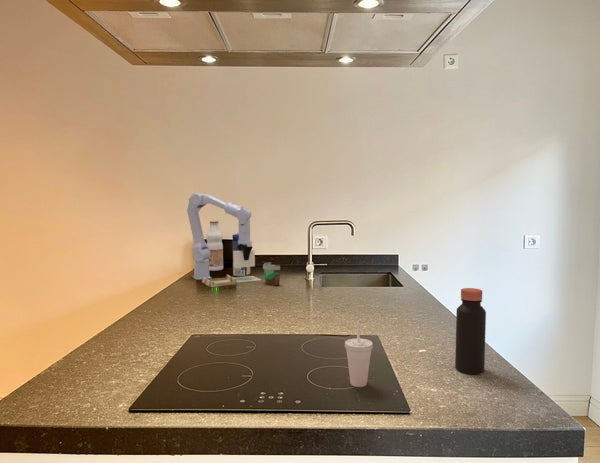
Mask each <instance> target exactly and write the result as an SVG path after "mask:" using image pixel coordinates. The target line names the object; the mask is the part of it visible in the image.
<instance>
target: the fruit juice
mask: <svg viewBox="0 0 600 463" xmlns="http://www.w3.org/2000/svg"><path fill="white" fill-rule="evenodd" d="M209 225H210V227H209V229H208V232H207V233H206V244H207V245H208V248H209V249H210V251H211V256H210V258H209V271H210V272H211V271H212V272H213V271H214V272H215V271H216V272H217V271H222V270H223V269H224V245H223V242H222V241H223V234H222V232H221V231H220V228H219V221H218V220H211V221H209Z"/></svg>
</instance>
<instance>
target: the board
mask: <svg viewBox="0 0 600 463" xmlns="http://www.w3.org/2000/svg"><path fill="white" fill-rule="evenodd" d="M234 278H236V279H237V284H238V283H247V282H248V283H249V282H256V281H261V282H263V279H261V278H258V277H257V276H254V275H246V276H238V277H234Z"/></svg>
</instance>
